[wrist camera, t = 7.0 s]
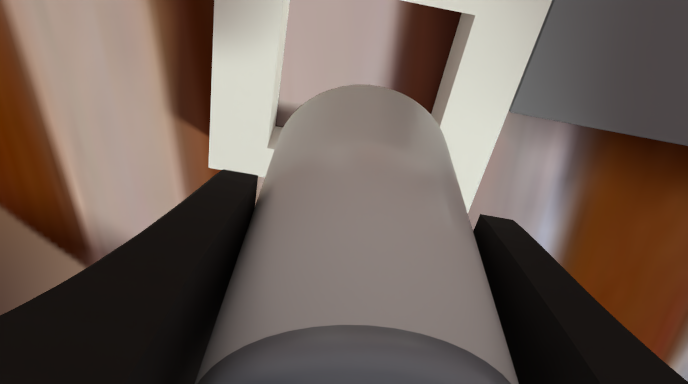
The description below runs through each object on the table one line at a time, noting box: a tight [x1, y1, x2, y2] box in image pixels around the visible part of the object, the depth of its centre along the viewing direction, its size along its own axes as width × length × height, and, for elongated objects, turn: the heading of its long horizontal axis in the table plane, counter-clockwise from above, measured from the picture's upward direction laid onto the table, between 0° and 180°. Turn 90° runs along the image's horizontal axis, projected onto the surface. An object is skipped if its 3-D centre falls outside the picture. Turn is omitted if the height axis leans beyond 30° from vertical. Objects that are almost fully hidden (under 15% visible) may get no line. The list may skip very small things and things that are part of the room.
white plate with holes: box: [209, 0, 552, 213], centre depth 15 cm, size 10×12×2 cm
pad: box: [509, 0, 688, 146], centre depth 15 cm, size 8×8×2 cm
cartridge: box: [195, 85, 519, 384], centre depth 8 cm, size 4×4×7 cm
